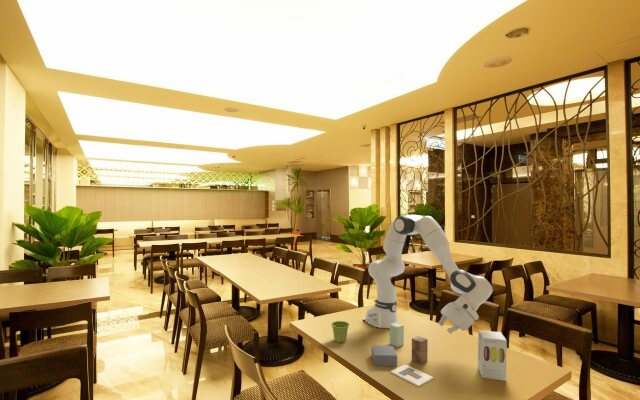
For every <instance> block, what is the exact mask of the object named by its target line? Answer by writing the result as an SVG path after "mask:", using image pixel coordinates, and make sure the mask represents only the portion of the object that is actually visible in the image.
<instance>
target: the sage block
mask: <svg viewBox="0 0 640 400" xmlns="http://www.w3.org/2000/svg"><path fill="white" fill-rule="evenodd" d="M404 329H405V328H404V324H401V323H399V322H398V323H396V322H395V323H392V324H390V328H389V345H390V346H393V347H396V348H399V347H401V346H403V345H404V344H405V343H404V335H405V334H404V333H405V331H404Z"/></svg>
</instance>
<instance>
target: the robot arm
mask: <svg viewBox="0 0 640 400" xmlns="http://www.w3.org/2000/svg"><path fill="white" fill-rule="evenodd" d="M413 235H420V237H421V239H422V241H423V242H424V243H425V245H426V246H427V248H428V249H429V250H430V252H431V253H432V254H433V255H434V256H435V257H436V259H437V260H438V262H439V263H440V264H441V266H442V268H443V269H444V271H445V273H446V275H447V277H448V279H449V285H450V286H449V287H450V289H451V291H452V292H453V293H454V294H455V295H457V296H458V298H457V299H456V300H455V301H452V302H451V301H450V302H449V303H447V304H446V305H445V306H444V307H442V309H441V310H440V314H441V315H442V316H441V317H440V320H439V321H438V323H437V324H438V325H439V326H440V327H443V326H444V324H445V322H446V321H447V320H448V321H450V322H451V323H452V324H453V325H452V326H451V327H448V329H446V332H447V333H448V334H450V335H452V334H453V332H456V331H458V330H459V329H460V330H461V331H464V332H465V331H466V330H468V329H470V327H471V326H472V325H473V324H474V323H475V321H477V320H478V319H480V317H479V315H478V312H477V311H478V309H479V307H480V306H481V305H482V304H484V303H485V302H486V301H487V300H488V299H489V298H490V297H491V295H492V294H493V291H494V289H493V288H494V287H493V285H492V283H491V282H490V281H489V280H488V279H487V278H485V277H484V276H479V275H474V274H473V273H469V272H467V271H466V270H464V269H459V267H458V266H457V264H456V262H455V261H454V259H453V256H452V254H451V249H450V244H449V241H448V237H447V235H446V232H444V230H443V228H442V227H441V225H440V224H439V223H438V222H437V221H436V219H434V218H433V217H432V216H430V215H422V214H407V215H406V214H405V215H404V214H403V215H399V216H397V217H395V218H394V220H393V221H392V222H391V223H390V225H389V227H388V229H387V231H386V235H385V239H384V243H383V246H382V249H383V251H384V252H385V258H382V259H376V260H374V261H372V262H370V263H369V265H368V270H367V271H368V273H369V276H371V278H372V279H373V280H374V282H375V284H376V293H377V295H376V296H377V297H376V299H375V300H373V303H375V304H374V305H372V307H370V308H368V309H367V311H366V316H363V317H362V319H363V320H365V321H366V322H365V321H364V322H365V323H367V322H368V323H367V324H369V325H370V324H371V326H372V325H373V326H372V327H374V326H375V327H374V328H376V327H378V329H382V328H383V329H390V324H392V323H395V322H396V323H399V320H398V315H397V314H398V313H397V309H398V302H397V288H396V286H395V285H394V284H393V283H392V282H391V281H392V280H391V278H392V277H397V276H399V275H401V274H403V273H404V272H405V268H406V266H405V263H404V260H403V259H402V253H403V248H404V245H405V242H406V239H407V236H413ZM363 320H362V321H363Z"/></svg>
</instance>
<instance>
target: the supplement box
mask: <svg viewBox="0 0 640 400" xmlns="http://www.w3.org/2000/svg"><path fill="white" fill-rule="evenodd" d="M477 337H478V342H477V344H478V345H477V346H478V348H477V352H478V353H477V369H478V372H479V374H480V376H481V378H483V379H489V380H498V381H503V382H506V381H507V350H508V349H507V342H508V341H507V339H506V337H505V336H504V335H503V333H502V332H500V331H491V330H481V329H479V330H478V336H477Z"/></svg>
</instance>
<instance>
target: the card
mask: <svg viewBox="0 0 640 400" xmlns="http://www.w3.org/2000/svg"><path fill="white" fill-rule="evenodd" d="M390 373H391V374H393V375H395V376H397V377H398V378H401V379H403V380H405V381H406V382H408V383H410V384H413V385H415V386H416V387H422V386H423V385H425V384H426V383H429V382H430V381H432V380H434V377H433V376H431V375H430V374H427V373H425V372H423V371H420V370H419V369H417V368H414V367H412V366H410V365H408V364H403V365H401V366H398V367H397V368H395V369H392V370H390Z"/></svg>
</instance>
